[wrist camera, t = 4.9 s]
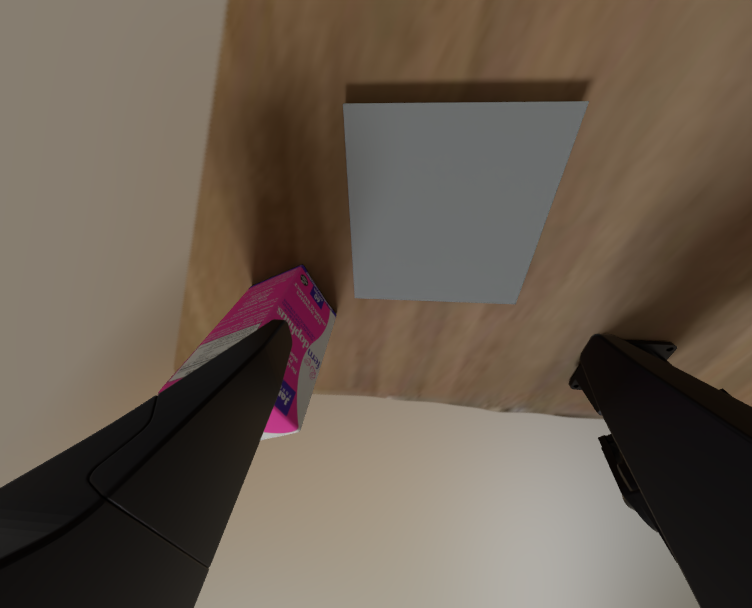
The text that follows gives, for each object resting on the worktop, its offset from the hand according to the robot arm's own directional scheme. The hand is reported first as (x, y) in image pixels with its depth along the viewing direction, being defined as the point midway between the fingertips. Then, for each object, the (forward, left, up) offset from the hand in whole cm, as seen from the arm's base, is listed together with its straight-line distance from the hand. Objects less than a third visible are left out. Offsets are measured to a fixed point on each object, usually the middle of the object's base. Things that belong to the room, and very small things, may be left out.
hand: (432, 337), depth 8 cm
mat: (-2, +1, -13) cm, 13 cm away
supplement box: (+10, +8, -13) cm, 18 cm away
